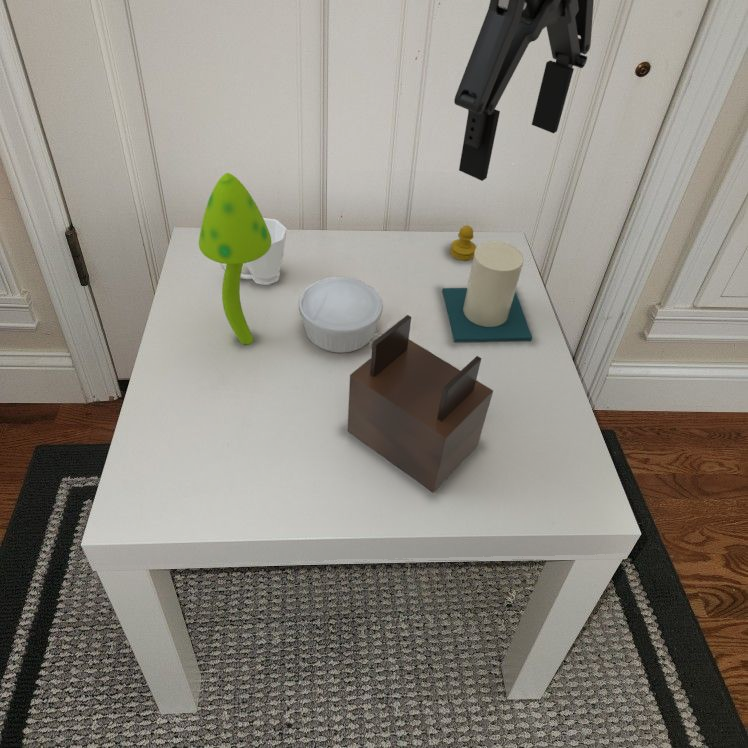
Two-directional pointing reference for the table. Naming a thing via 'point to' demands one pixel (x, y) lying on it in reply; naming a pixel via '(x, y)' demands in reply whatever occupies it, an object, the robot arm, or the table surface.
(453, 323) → the mat
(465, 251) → the chess piece
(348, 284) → the ramekin
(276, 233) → the cup
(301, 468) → the table surface
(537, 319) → the table surface
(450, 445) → the holder
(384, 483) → the table surface
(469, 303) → the cream cylinder
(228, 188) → the mushroom
